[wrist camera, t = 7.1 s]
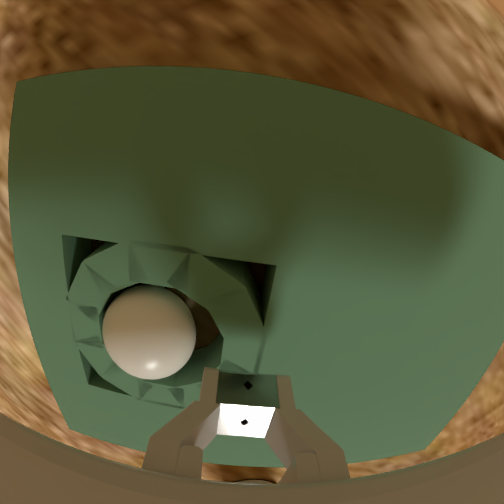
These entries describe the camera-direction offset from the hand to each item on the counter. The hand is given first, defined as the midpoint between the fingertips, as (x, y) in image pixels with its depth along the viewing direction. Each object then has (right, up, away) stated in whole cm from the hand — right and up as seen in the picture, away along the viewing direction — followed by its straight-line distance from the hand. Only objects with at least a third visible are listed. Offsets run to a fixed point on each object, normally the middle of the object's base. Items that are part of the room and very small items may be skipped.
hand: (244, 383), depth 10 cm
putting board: (+2, +1, +4) cm, 5 cm away
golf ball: (-4, +1, +2) cm, 5 cm away
